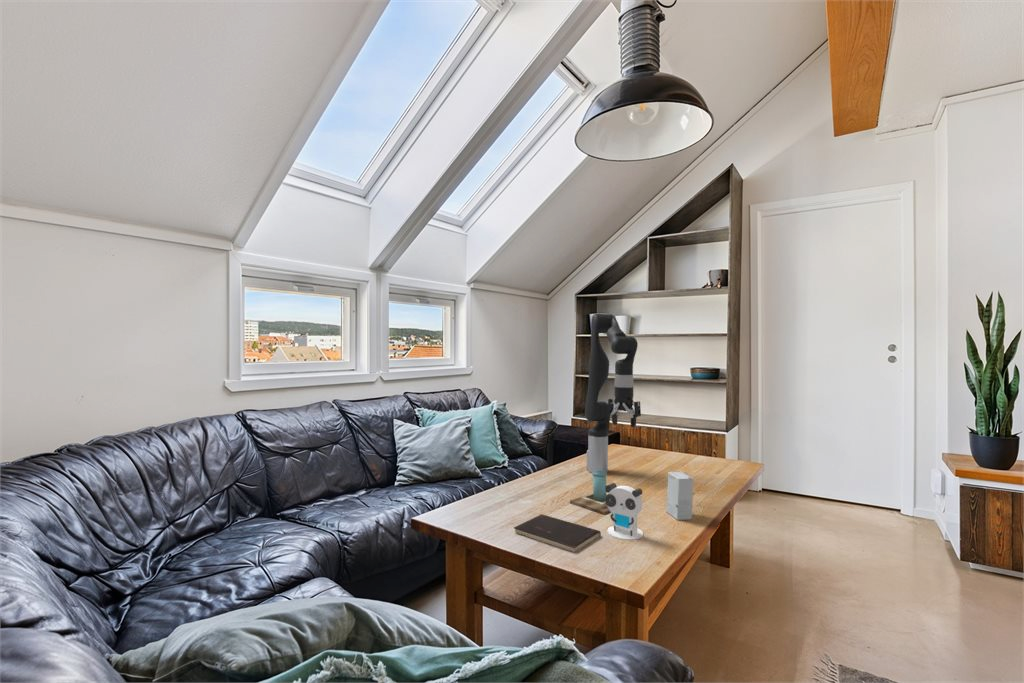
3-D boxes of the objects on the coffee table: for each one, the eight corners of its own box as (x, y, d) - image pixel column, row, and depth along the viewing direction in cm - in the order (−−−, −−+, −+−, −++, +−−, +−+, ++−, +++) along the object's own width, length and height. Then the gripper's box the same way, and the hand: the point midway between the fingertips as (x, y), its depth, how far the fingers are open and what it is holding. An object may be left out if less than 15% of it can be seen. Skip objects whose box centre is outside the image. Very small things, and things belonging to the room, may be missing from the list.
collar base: (569, 503, 183) (569, 497, 183) (595, 494, 193) (595, 488, 193) (603, 514, 171) (603, 507, 171) (629, 504, 182) (629, 497, 182)
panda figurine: (599, 532, 155) (599, 486, 155) (616, 522, 163) (616, 479, 163) (632, 543, 147) (633, 494, 147) (649, 532, 155) (649, 486, 155)
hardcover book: (574, 554, 140) (574, 546, 140) (513, 534, 155) (513, 527, 155) (600, 537, 152) (600, 530, 152) (542, 520, 167) (542, 513, 167)
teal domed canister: (589, 500, 182) (589, 472, 183) (598, 497, 186) (598, 469, 186) (600, 504, 178) (600, 474, 178) (609, 501, 182) (609, 472, 182)
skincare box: (666, 512, 173) (666, 471, 173) (681, 511, 174) (681, 470, 174) (677, 520, 165) (677, 478, 165) (693, 519, 166) (693, 477, 166)
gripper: (644, 386, 190) (644, 426, 190) (614, 383, 201) (614, 422, 201) (633, 387, 185) (633, 429, 185) (603, 385, 195) (603, 424, 196)
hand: (623, 425), depth 193 cm, fingers open, 8 cm apart
